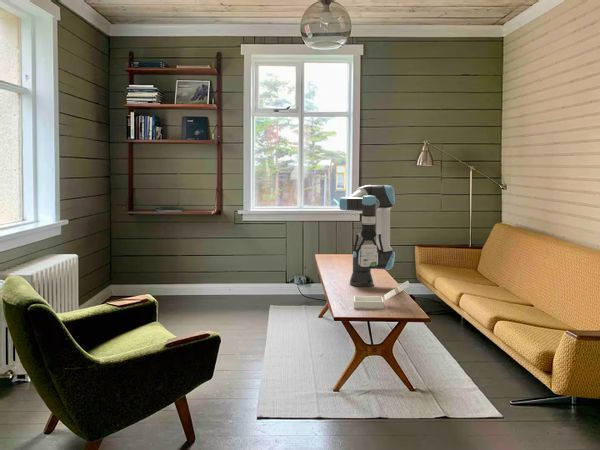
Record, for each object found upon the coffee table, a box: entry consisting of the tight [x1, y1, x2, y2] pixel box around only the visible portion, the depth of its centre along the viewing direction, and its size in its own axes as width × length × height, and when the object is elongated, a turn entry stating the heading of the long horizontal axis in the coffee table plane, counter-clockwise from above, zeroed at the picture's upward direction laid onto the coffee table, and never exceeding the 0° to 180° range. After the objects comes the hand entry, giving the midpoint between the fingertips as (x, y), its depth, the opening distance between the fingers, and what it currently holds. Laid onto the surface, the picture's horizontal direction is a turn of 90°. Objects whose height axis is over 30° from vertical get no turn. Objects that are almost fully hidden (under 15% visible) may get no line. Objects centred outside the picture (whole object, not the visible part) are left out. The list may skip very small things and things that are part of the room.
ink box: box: [360, 243, 377, 267], centre depth 345 cm, size 8×5×12 cm, turn 101°
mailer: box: [353, 295, 385, 310], centre depth 348 cm, size 12×16×4 cm
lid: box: [383, 280, 411, 302], centre depth 346 cm, size 12×16×1 cm
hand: (368, 263), depth 346 cm, fingers closed on ink box, 9 cm apart
